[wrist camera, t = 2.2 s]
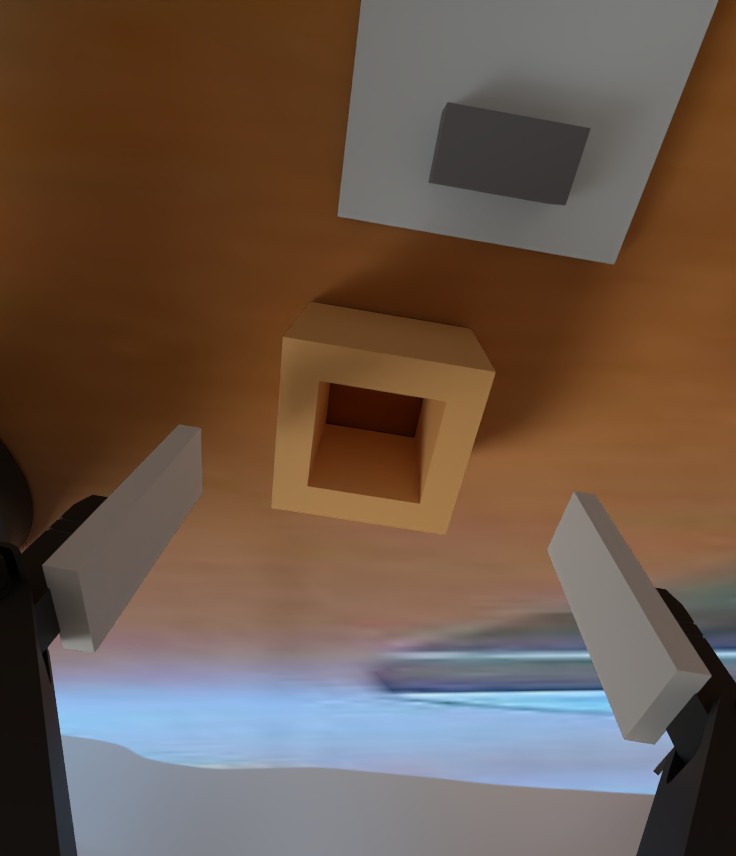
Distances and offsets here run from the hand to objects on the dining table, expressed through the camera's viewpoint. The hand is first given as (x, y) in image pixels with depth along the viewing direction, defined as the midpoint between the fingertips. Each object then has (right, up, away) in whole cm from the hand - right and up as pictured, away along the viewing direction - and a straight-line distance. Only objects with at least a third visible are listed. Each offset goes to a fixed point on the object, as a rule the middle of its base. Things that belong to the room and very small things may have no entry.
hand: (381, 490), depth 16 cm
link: (0, +4, +8) cm, 9 cm away
